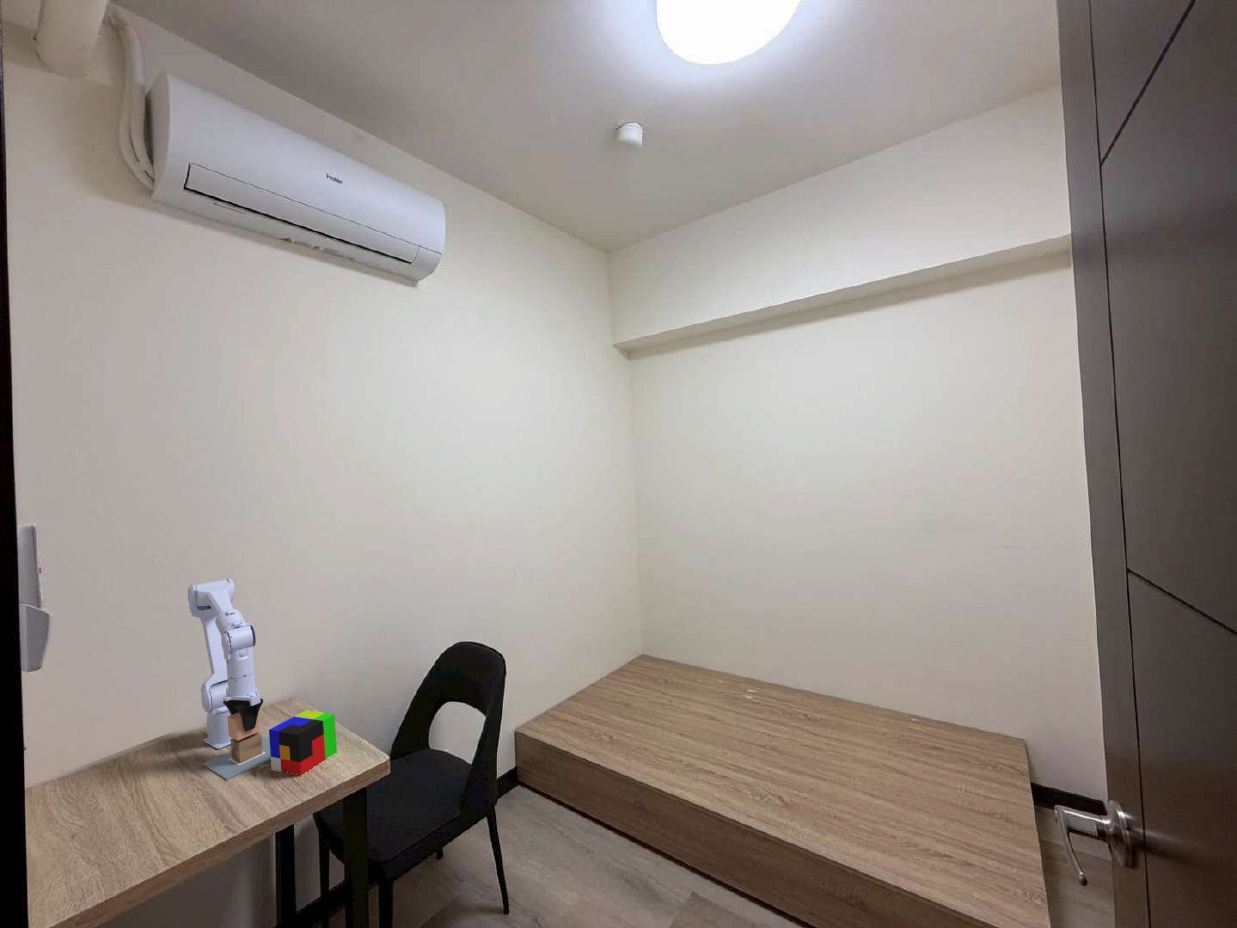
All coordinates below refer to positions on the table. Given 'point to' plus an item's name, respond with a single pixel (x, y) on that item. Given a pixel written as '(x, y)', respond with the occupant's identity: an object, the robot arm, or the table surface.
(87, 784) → the table surface
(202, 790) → the table surface
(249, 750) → the walnut block
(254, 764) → the plate
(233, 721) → the terracotta block
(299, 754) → the puzzle toy
